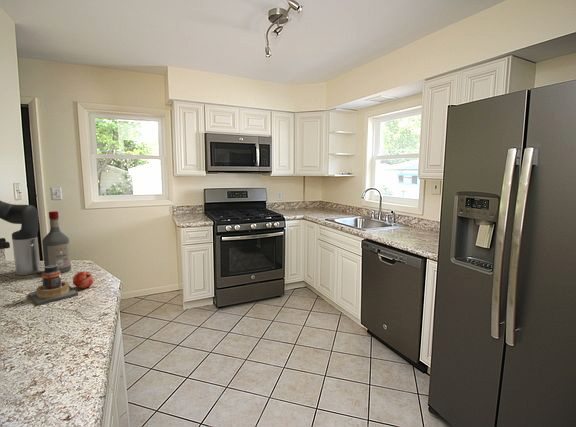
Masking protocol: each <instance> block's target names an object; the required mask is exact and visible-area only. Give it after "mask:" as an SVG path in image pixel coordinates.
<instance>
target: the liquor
mask: <svg viewBox="0 0 576 427" xmlns="http://www.w3.org/2000/svg"><path fill="white" fill-rule="evenodd" d="M48 219H49V226H50V229H49V232H48V233H47V234H46V235H45V236H44V237H43V238H42V252H43V253H42V254H43V262H44V264H43V265H44V267H46V266H49V265H57V269H58V270H60V272H61V273H62V274H65V272H66V273H69V272H70V271H71V270H72V258H71V245H70V238H69V237H68V236H67V235H66V234H64V232H62V231H61V229H60V223H59V211H55V210H53V211H48Z"/></svg>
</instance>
